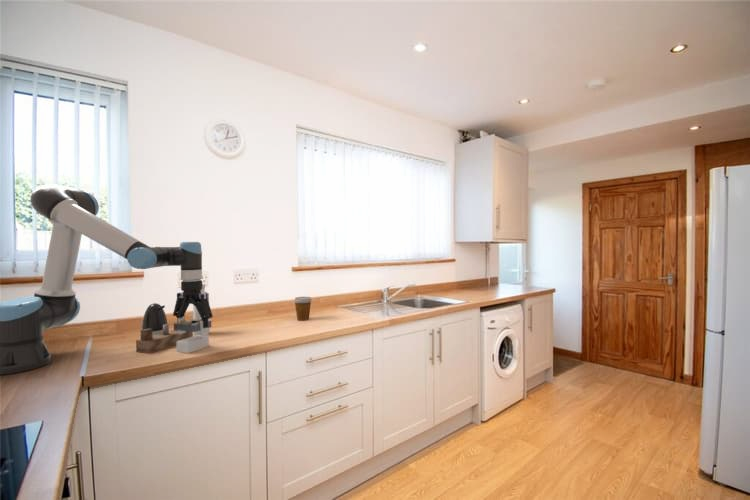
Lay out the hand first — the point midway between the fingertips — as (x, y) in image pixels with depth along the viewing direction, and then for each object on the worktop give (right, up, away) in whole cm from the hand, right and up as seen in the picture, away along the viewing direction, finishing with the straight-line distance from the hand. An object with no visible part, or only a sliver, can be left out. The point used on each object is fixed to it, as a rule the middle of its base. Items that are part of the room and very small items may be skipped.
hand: (192, 334), depth 136 cm
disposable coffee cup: (+34, -4, +51) cm, 61 cm away
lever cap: (0, +3, 0) cm, 3 cm away
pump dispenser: (-27, -6, +19) cm, 33 cm away
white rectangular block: (0, -6, 0) cm, 6 cm away
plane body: (-14, -6, +5) cm, 16 cm away
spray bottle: (-8, -5, +22) cm, 24 cm away
